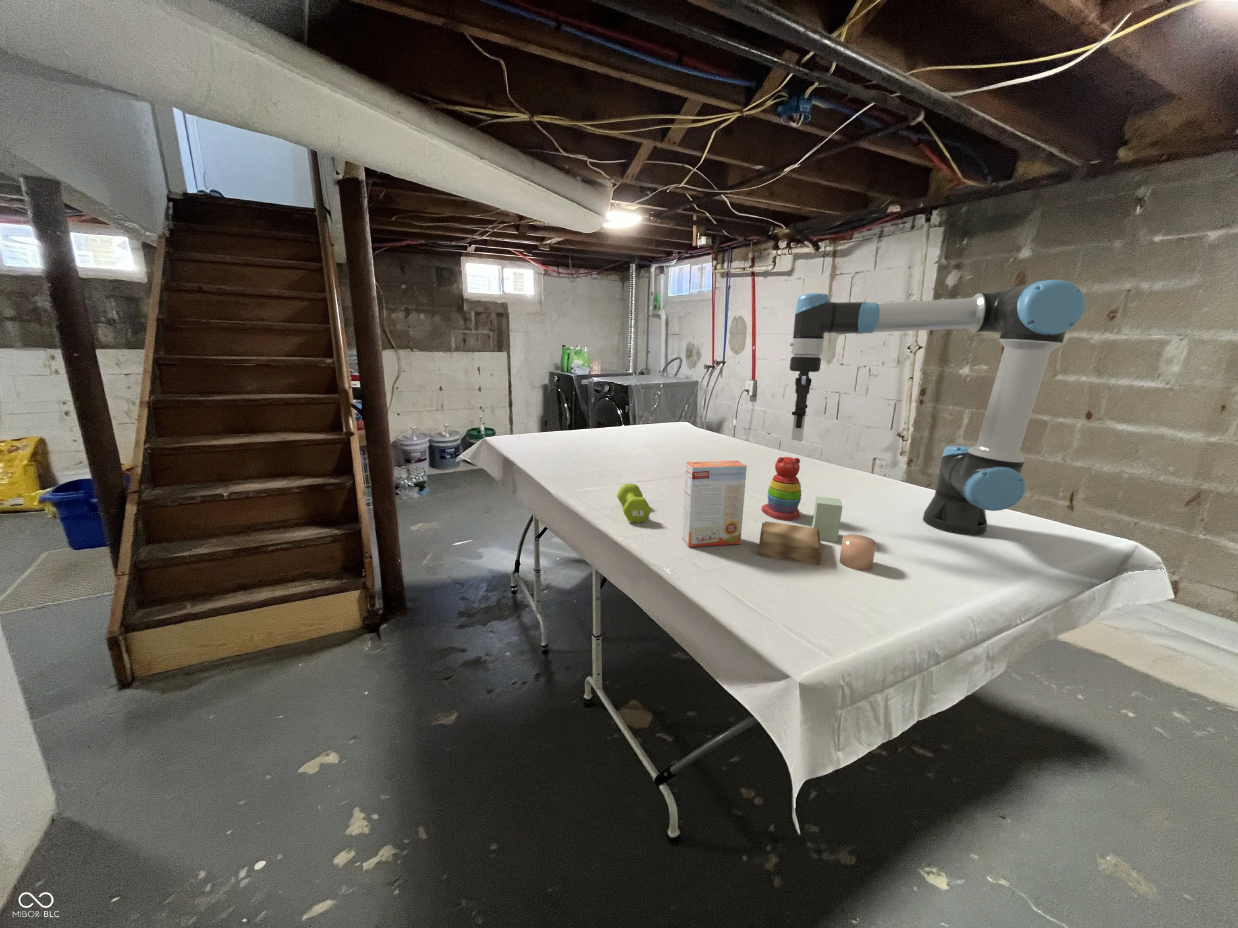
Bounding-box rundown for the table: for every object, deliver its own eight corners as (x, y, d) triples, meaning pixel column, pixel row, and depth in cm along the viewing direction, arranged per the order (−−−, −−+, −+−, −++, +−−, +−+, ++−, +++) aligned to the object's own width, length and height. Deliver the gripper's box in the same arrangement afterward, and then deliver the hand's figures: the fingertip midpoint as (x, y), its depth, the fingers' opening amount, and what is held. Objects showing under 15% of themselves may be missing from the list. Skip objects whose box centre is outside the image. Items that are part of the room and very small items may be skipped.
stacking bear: (795, 509, 149) (802, 453, 145) (804, 521, 139) (812, 462, 135) (760, 507, 150) (765, 452, 146) (766, 519, 140) (772, 460, 136)
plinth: (817, 542, 125) (819, 527, 124) (820, 564, 113) (822, 549, 112) (761, 534, 130) (762, 520, 129) (757, 555, 117) (759, 540, 116)
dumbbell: (651, 524, 136) (652, 499, 134) (623, 524, 135) (623, 500, 133) (641, 504, 151) (642, 482, 149) (616, 505, 150) (616, 482, 148)
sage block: (835, 533, 131) (840, 498, 129) (837, 542, 126) (842, 505, 123) (811, 530, 133) (816, 496, 131) (812, 538, 128) (817, 502, 125)
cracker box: (731, 535, 128) (738, 459, 123) (741, 545, 123) (748, 465, 117) (680, 538, 126) (685, 460, 121) (687, 547, 120) (692, 466, 115)
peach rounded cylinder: (869, 559, 116) (873, 536, 114) (874, 572, 110) (878, 548, 108) (838, 555, 118) (841, 532, 117) (840, 567, 112) (844, 543, 110)
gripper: (791, 354, 140) (784, 427, 145) (790, 357, 117) (781, 443, 122) (819, 355, 137) (810, 429, 142) (823, 358, 114) (812, 445, 120)
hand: (797, 435), depth 132 cm, fingers open, 13 cm apart
